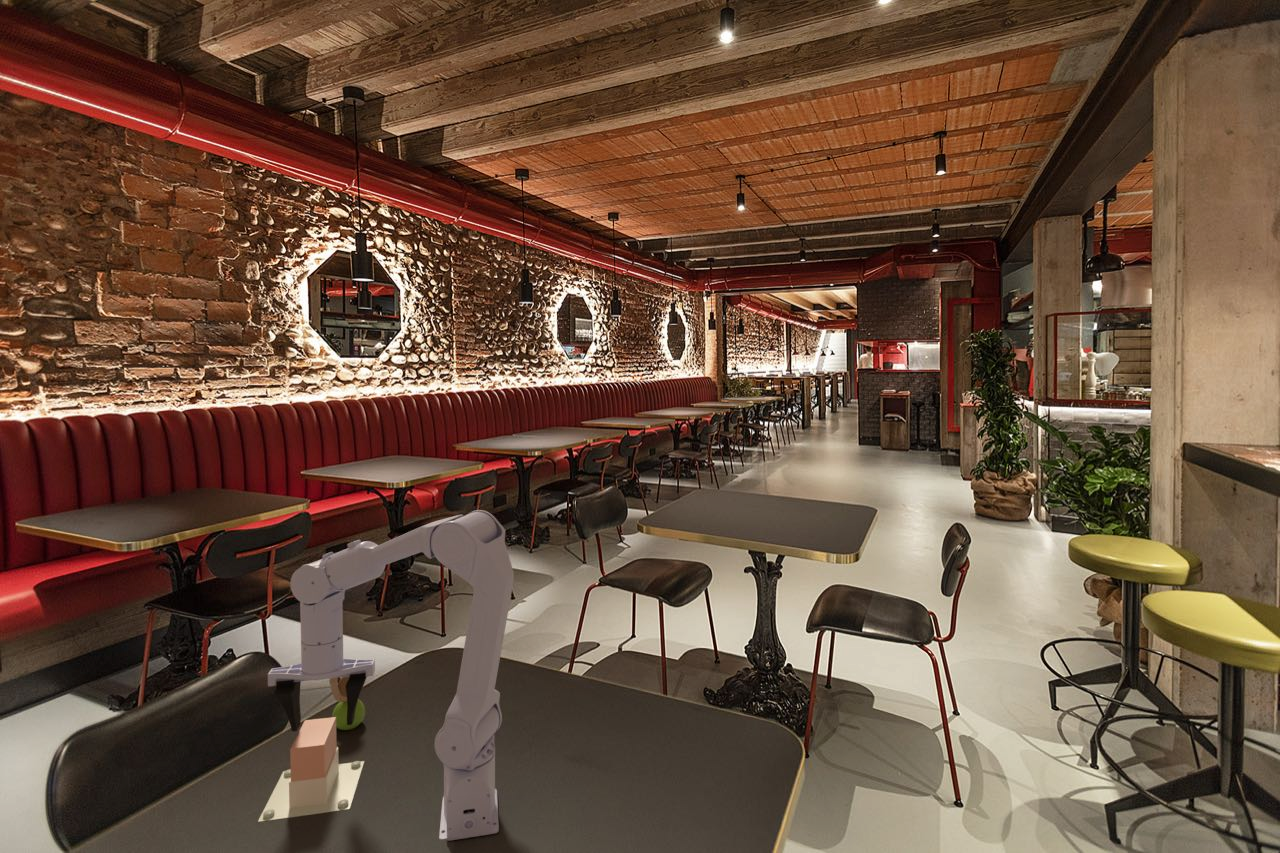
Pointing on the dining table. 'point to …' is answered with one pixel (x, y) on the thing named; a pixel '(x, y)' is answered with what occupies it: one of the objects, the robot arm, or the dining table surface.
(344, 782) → the baseplate
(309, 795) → the bottom brick
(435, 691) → the dining table surface
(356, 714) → the snail figurine
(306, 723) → the top brick
